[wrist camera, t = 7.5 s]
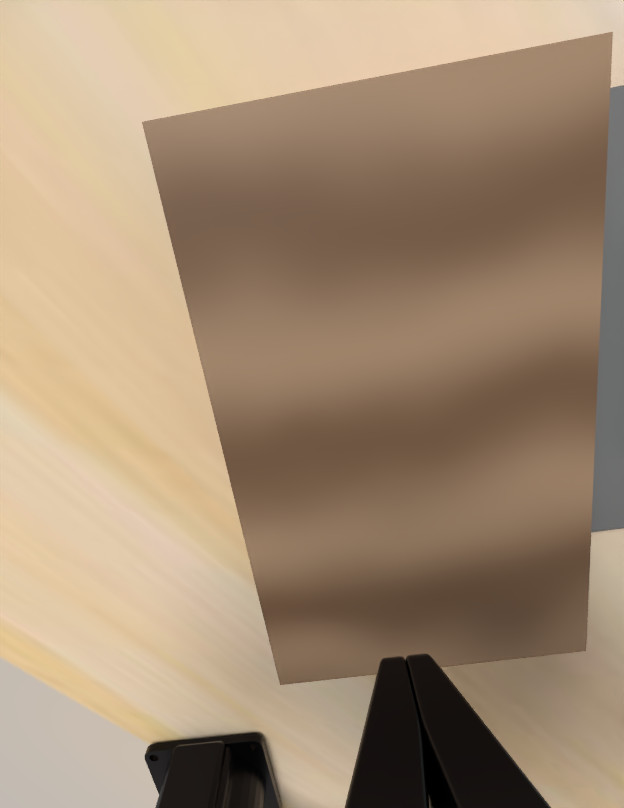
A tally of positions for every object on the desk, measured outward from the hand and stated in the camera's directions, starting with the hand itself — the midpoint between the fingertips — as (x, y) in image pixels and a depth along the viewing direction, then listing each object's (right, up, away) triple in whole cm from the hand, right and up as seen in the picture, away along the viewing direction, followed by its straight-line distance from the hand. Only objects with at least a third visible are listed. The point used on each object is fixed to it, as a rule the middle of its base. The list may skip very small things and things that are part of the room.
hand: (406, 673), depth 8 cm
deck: (+1, +5, +11) cm, 12 cm away
